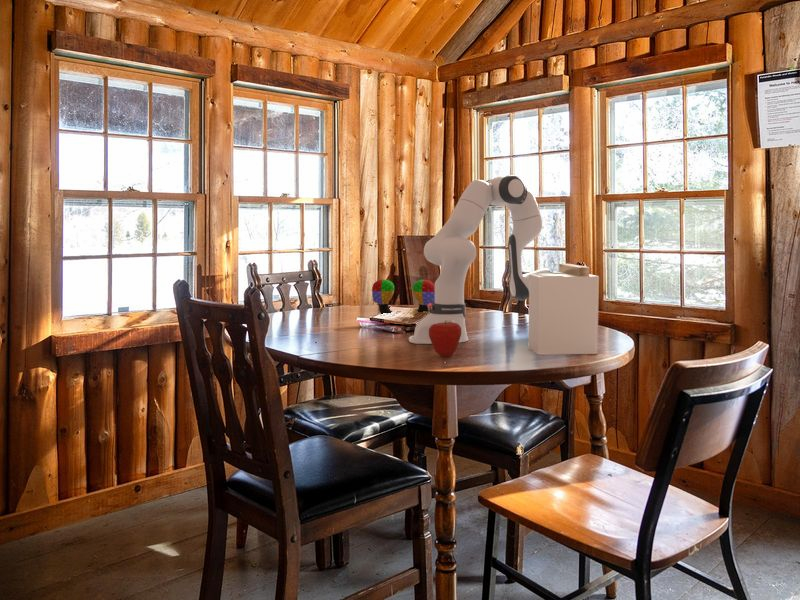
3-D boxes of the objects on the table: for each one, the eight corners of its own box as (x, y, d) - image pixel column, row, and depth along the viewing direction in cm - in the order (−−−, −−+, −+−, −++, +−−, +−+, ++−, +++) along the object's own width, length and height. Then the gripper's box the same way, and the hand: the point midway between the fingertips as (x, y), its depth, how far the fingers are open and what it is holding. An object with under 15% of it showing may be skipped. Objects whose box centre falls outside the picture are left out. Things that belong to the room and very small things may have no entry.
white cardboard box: (538, 354, 229) (539, 276, 226) (528, 347, 243) (529, 273, 240) (597, 353, 230) (599, 275, 227) (584, 346, 243) (585, 272, 241)
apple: (445, 351, 236) (445, 316, 235) (468, 355, 228) (468, 319, 227) (422, 355, 229) (421, 319, 227) (444, 360, 221) (444, 323, 219)
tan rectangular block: (578, 276, 227) (579, 267, 226) (558, 271, 250) (559, 263, 250) (589, 276, 227) (589, 267, 226) (568, 271, 251) (568, 263, 250)
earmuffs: (437, 323, 305) (436, 279, 303) (433, 326, 296) (433, 280, 294) (375, 322, 311) (374, 278, 308) (370, 325, 302) (369, 280, 300)
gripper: (527, 284, 263) (535, 268, 250) (580, 284, 264) (590, 267, 251) (529, 299, 260) (537, 283, 247) (582, 299, 261) (593, 283, 248)
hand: (564, 275), depth 249 cm, fingers open, 8 cm apart
